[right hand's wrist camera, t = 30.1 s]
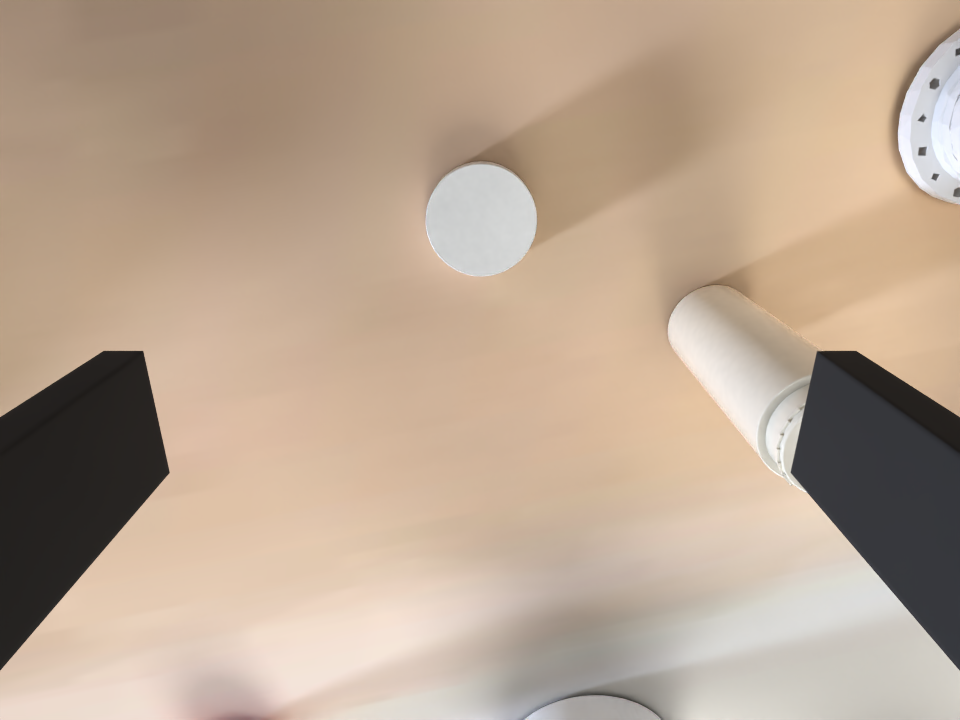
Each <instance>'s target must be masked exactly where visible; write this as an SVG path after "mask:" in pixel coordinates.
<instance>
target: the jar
mask: <svg viewBox="0 0 960 720" xmlns="http://www.w3.org/2000/svg"><path fill="white" fill-rule="evenodd" d="M668 338H669V342H670V345H671V347H672V349H673V350H674V352H675V353H676V354H677V356H678V357H679V358H680V359H681V360H682V362H683V363H684V364H685V365H686V367H687V368H688V369H689V370H690V372H691V373H692V374H693V375H694V377H695V378H696V379H697V380H698V382H699V383H700V384H701V385H702V387H703V388H704V389H705V390H706V392H707V393H708V394H709V395H710V397H711V398H712V399H713V400H714V401H715V403H716V404H717V405H718V406H719V408H720V409H721V410H722V411H723V413H724V414H725V415H726V416H727V418H728V419H729V420H730V421H731V423H732V424H733V425H734V426H735V428H736V429H737V430H738V431H739V433H740V434H741V435H742V436H743V437H744V439H745V440H746V441H747V442H748V444H749V445H750V446H751V447H752V449H753V450H754V451H755V452H756V454H757V455H758V456H759V457H760V459H761V460H762V461H763V462H764V464H765V465H766V466H767V467H768V468H769V469H770V470H771V471H773V472H774V473H775V474H777V475H779V476H781V477H783V478H785V479H786V481H787V482H788V483H789V484H790V486H792V485H795V486H796V487H797V488H799V489H800V490H802V491H804V492H806V493H807V491H806V490H805V489H804V488H803V487H802V486H801V484H800V483H799V482H798V481H797V480H796V479H795V477H794V476H793V475H792V474H791V473H790V472H791V468H792V463H793V458H794V454H795V449H796V445H797V440H798V436H799V431H800V426H801V422H802V417H803V413H804V408H805V403H806V399H807V394H808V390H809V385H810V380H811V376H812V371H813V367H814V362H815V357H816V353H817V351H824V350H822V349H821V348H819V347H818V346H817V345H815V344H814V343H812V342H811V341H809V340H808V339H807V338H805V337H804V336H802V335H801V334H799V333H798V332H797V331H795V330H794V329H792V328H791V327H789V326H788V325H787V324H785V323H784V322H782V321H781V320H779V319H778V318H776V317H775V316H774V315H772V314H771V313H769V312H768V311H766V310H765V309H764V308H762V307H761V306H759V305H758V304H756V303H755V302H754V301H752V300H751V299H749V298H748V297H746V296H745V295H744V294H742V293H741V292H739V291H738V290H736V289H734V288H731V287H728V286H723V285H710V286H705V287H702V288H699V289H697V290H695V291H693V292H691V293H690V294H688V295H687V296H685V297H684V298H683V299H682V300H681V301H680V302H679V303H678V305H677V306H676V307H675V309H674V311H673V312H672V314H671V317H670V320H669V324H668Z"/></svg>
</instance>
